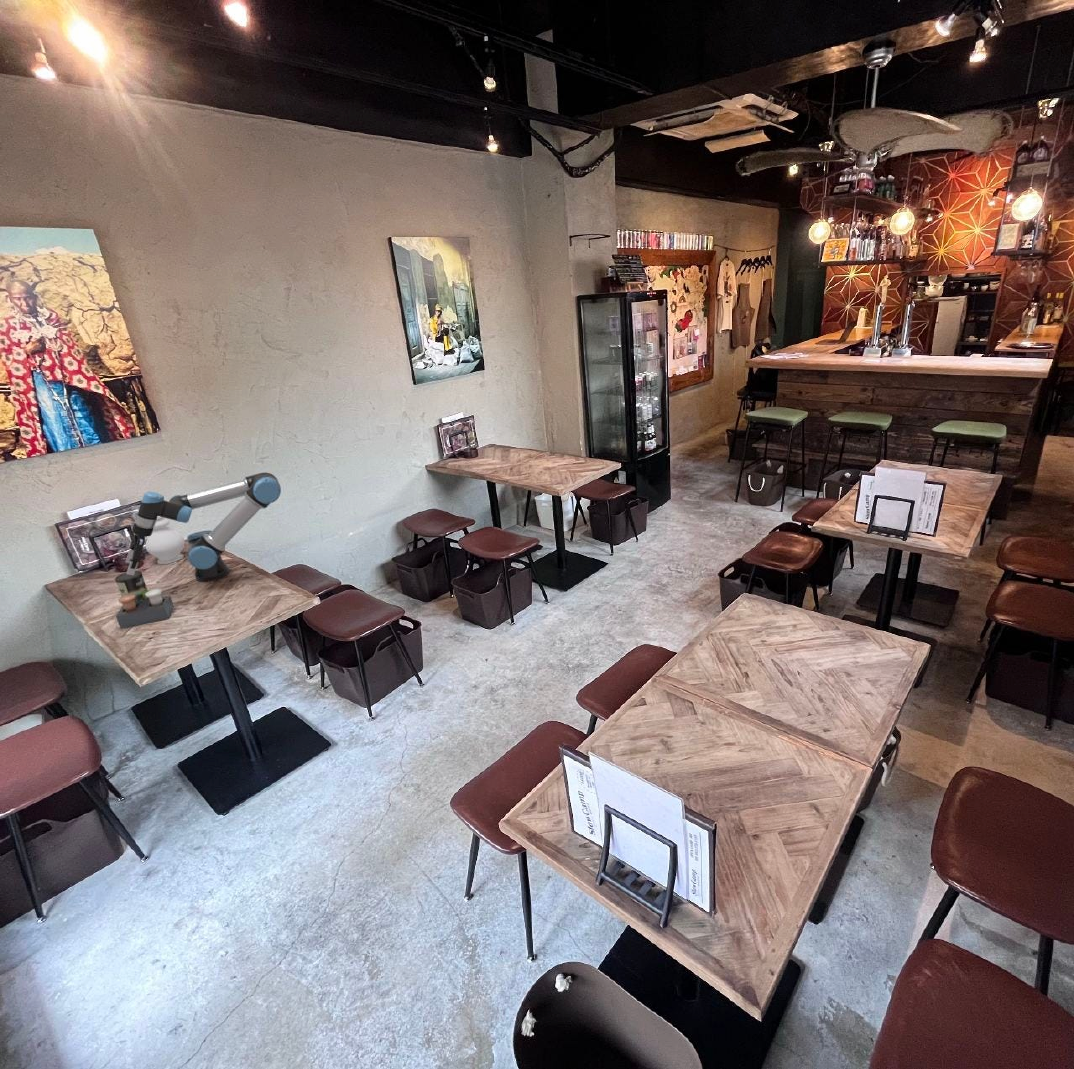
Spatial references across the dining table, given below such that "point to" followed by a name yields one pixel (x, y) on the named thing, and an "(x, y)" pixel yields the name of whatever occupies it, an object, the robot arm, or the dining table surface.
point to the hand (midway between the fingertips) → (129, 568)
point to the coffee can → (132, 585)
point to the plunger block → (145, 613)
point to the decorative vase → (165, 542)
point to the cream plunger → (154, 597)
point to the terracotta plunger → (128, 602)
